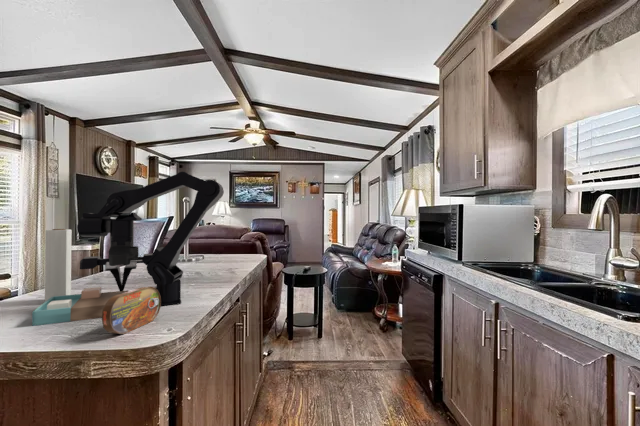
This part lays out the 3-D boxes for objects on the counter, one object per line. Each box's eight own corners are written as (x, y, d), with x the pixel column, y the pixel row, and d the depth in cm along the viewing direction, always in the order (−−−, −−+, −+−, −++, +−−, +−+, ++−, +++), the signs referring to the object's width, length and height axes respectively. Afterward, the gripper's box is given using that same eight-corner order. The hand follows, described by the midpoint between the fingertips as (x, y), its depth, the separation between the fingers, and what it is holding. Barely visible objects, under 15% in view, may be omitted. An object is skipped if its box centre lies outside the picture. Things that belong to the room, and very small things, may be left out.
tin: (111, 340, 65) (111, 298, 65) (98, 339, 65) (98, 297, 65) (162, 317, 79) (162, 283, 80) (151, 316, 80) (151, 283, 80)
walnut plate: (128, 300, 96) (128, 290, 96) (124, 314, 81) (124, 302, 81) (83, 305, 90) (83, 294, 90) (70, 321, 76) (70, 308, 76)
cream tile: (71, 307, 81) (71, 299, 81) (68, 311, 78) (68, 302, 78) (51, 309, 79) (51, 301, 79) (46, 313, 76) (47, 305, 76)
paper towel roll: (49, 299, 97) (50, 228, 97) (73, 297, 99) (74, 228, 99) (39, 305, 90) (40, 229, 90) (65, 303, 92) (66, 229, 93)
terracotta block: (101, 294, 91) (101, 287, 91) (99, 297, 87) (99, 289, 87) (84, 295, 89) (84, 288, 89) (81, 299, 85) (81, 291, 85)
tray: (83, 305, 90) (83, 293, 90) (70, 321, 76) (70, 307, 76) (51, 308, 87) (51, 296, 87) (32, 325, 73) (32, 311, 73)
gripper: (75, 239, 80) (75, 301, 80) (158, 237, 89) (158, 293, 89) (84, 237, 90) (83, 292, 90) (158, 235, 99) (158, 285, 98)
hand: (121, 291), depth 91 cm, fingers closed
